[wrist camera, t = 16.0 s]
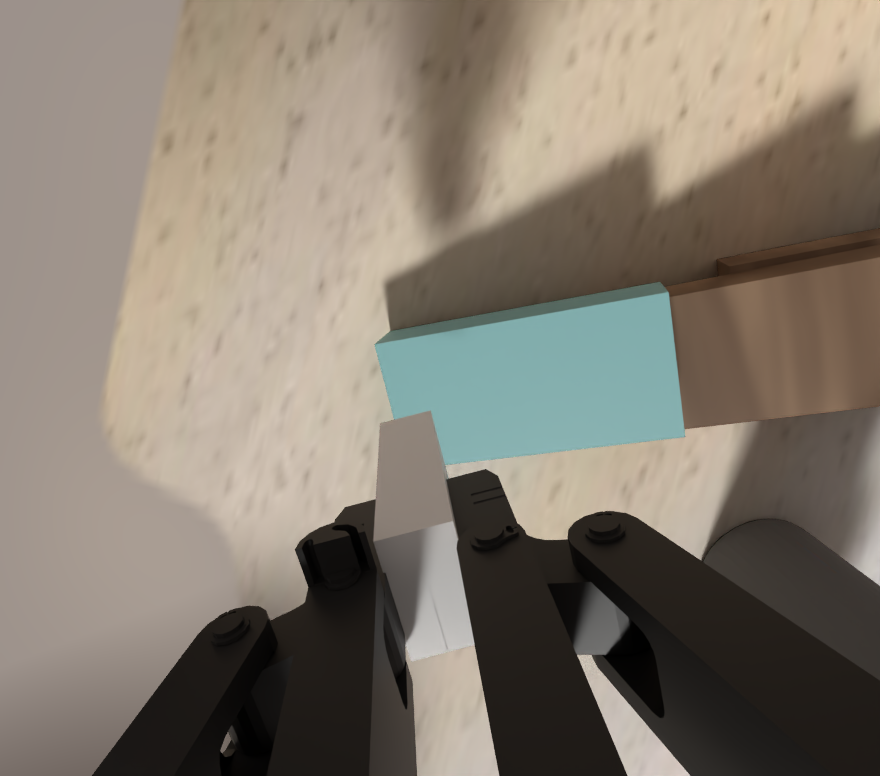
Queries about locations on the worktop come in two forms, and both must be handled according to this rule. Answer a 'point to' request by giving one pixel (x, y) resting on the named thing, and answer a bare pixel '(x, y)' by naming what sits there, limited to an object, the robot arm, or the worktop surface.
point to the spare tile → (541, 376)
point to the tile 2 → (779, 340)
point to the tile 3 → (798, 252)
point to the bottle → (805, 586)
